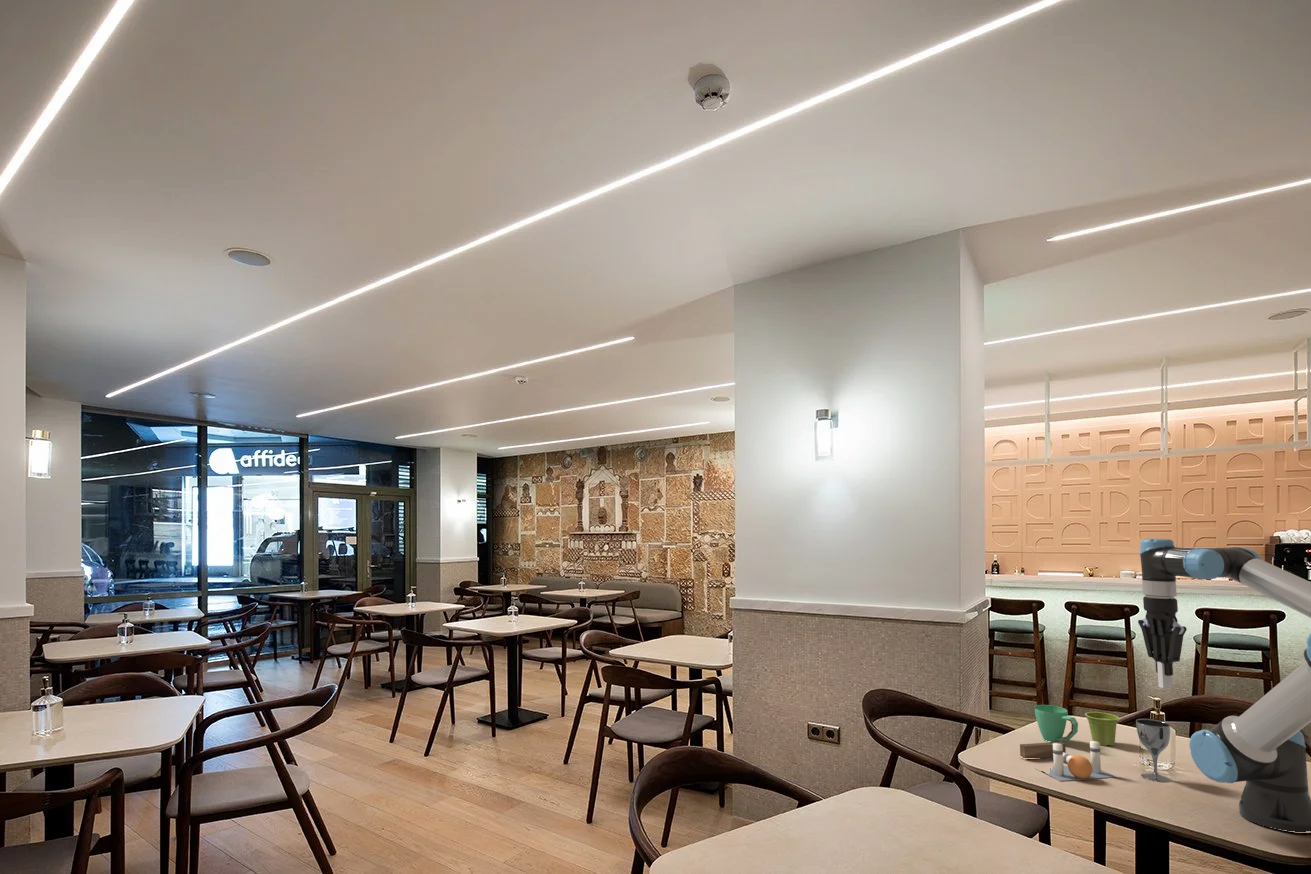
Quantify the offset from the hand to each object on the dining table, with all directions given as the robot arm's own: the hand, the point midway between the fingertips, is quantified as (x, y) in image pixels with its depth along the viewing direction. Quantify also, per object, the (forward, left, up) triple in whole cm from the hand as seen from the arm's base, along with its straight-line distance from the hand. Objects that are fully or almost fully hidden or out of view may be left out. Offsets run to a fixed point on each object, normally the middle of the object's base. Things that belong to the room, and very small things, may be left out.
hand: (1165, 687), depth 193 cm
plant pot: (+43, -18, -29) cm, 55 cm away
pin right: (+20, +5, -28) cm, 35 cm away
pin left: (+20, +17, -28) cm, 39 cm away
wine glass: (+14, -9, -29) cm, 33 cm away
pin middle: (+22, +7, -27) cm, 36 cm away
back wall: (+34, +11, -28) cm, 46 cm away
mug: (+46, -4, -29) cm, 54 cm away
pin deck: (+21, +11, -28) cm, 37 cm away
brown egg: (+17, +12, -25) cm, 33 cm away
